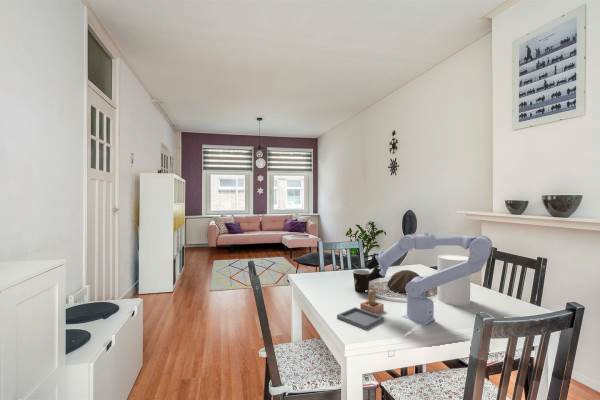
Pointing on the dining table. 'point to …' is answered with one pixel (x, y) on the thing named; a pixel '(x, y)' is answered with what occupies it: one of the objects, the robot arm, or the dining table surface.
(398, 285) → the decorative dome
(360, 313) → the slate tray
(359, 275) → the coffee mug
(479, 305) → the dining table surface
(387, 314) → the dining table surface
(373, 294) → the oak peg
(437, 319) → the dining table surface
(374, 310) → the terracotta square socket
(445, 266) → the canister
